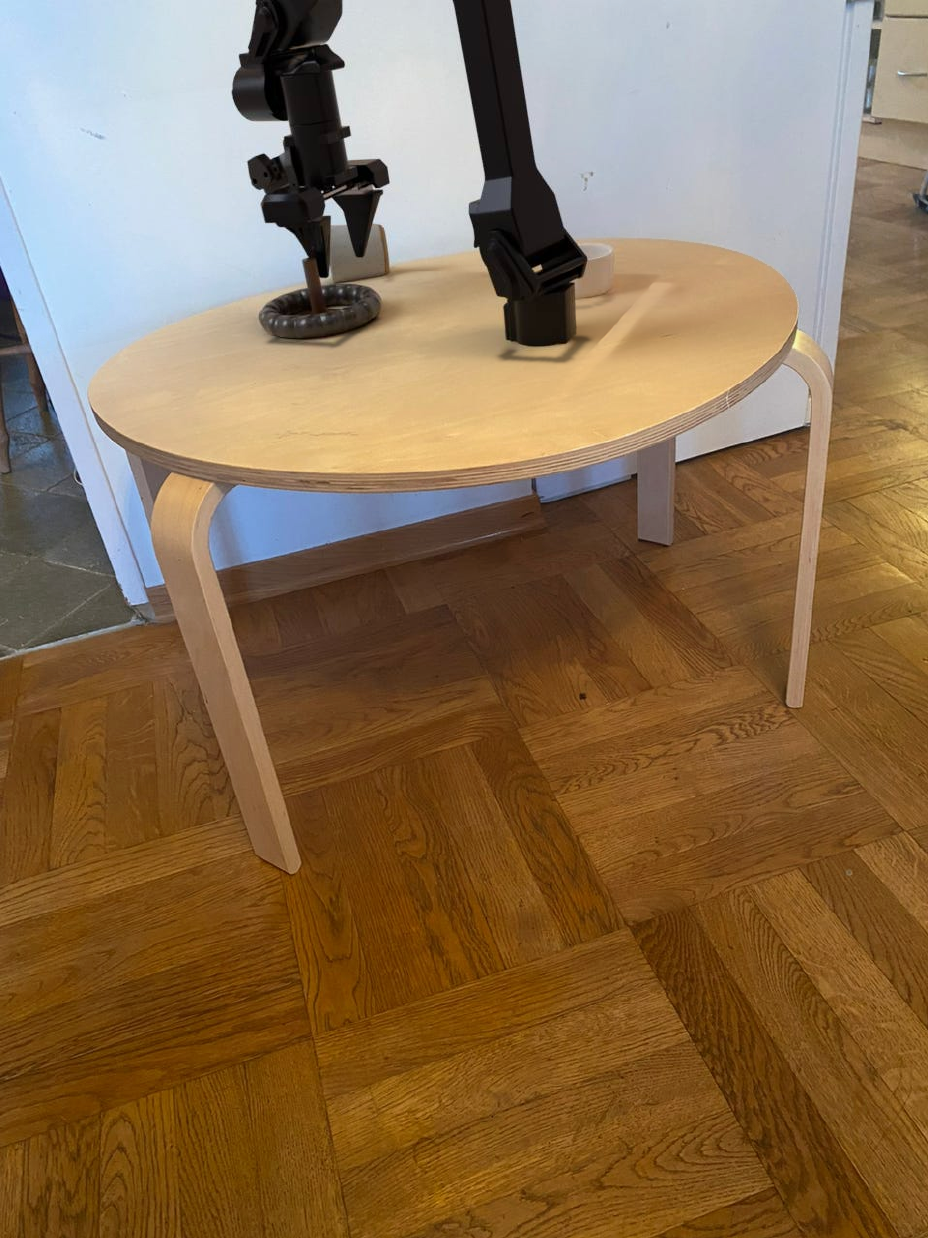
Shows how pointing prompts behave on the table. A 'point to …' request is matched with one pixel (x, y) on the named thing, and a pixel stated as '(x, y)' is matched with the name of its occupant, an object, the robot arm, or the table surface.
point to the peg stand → (314, 288)
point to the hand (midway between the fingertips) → (342, 267)
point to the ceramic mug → (348, 264)
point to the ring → (317, 325)
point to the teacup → (595, 270)
